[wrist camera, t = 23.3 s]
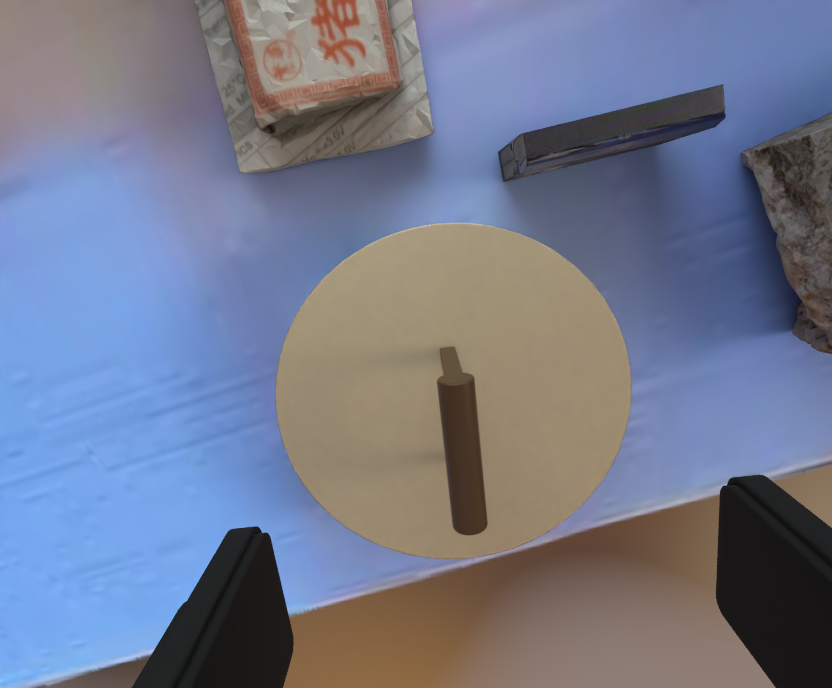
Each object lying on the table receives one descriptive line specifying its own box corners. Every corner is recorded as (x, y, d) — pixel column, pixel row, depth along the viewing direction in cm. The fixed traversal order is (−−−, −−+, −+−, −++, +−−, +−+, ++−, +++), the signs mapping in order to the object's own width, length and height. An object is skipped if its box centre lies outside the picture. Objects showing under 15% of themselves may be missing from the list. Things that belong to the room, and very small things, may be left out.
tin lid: (619, 201, 22) (704, 195, 16) (625, 529, 26) (694, 632, 20) (251, 245, 23) (184, 256, 16) (311, 560, 27) (277, 672, 20)
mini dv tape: (502, 182, 27) (527, 172, 21) (497, 152, 26) (520, 134, 21) (658, 144, 26) (727, 123, 20) (654, 114, 26) (724, 83, 20)
